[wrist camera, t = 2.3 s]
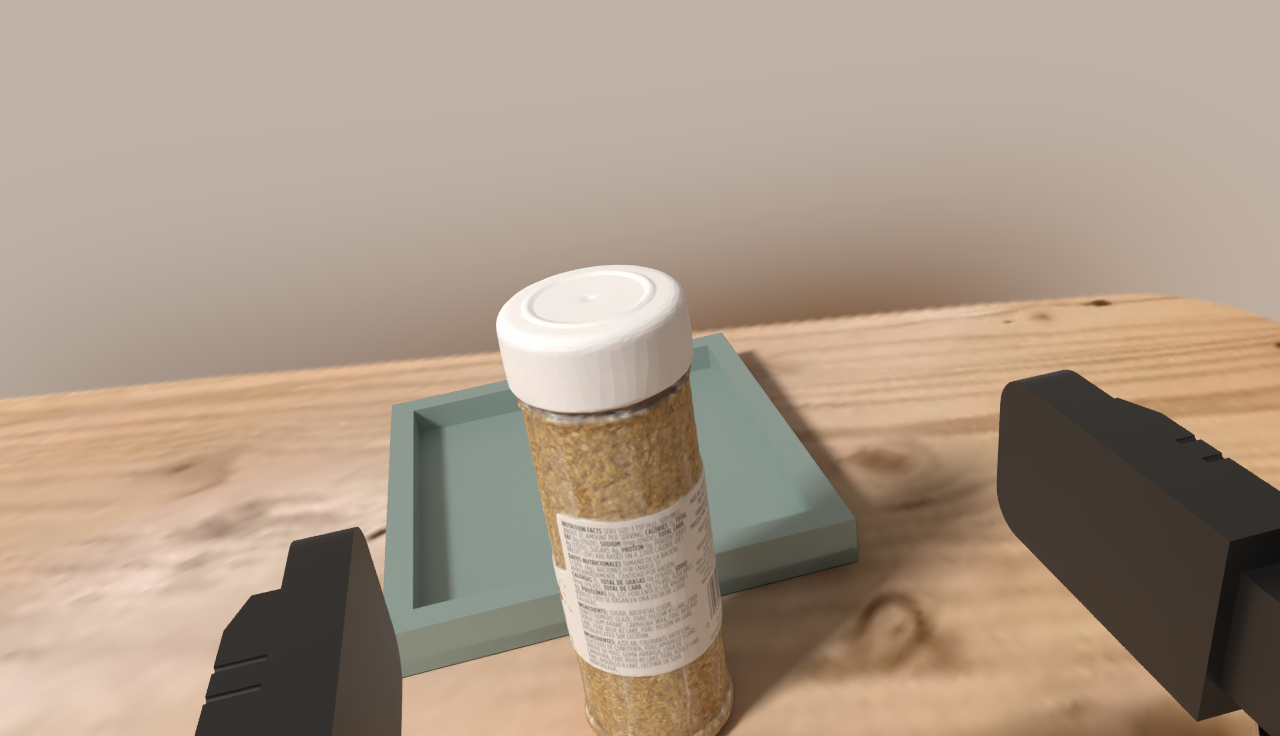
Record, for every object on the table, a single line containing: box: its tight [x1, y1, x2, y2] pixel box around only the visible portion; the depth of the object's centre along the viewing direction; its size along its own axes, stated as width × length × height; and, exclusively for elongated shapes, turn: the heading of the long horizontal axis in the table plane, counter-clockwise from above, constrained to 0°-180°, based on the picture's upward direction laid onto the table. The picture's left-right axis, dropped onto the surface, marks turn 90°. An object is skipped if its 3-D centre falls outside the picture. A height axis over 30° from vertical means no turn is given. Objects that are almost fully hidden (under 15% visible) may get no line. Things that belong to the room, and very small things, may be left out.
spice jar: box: [496, 265, 734, 736], centre depth 25 cm, size 5×5×13 cm
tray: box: [383, 333, 858, 677], centre depth 39 cm, size 16×16×2 cm
